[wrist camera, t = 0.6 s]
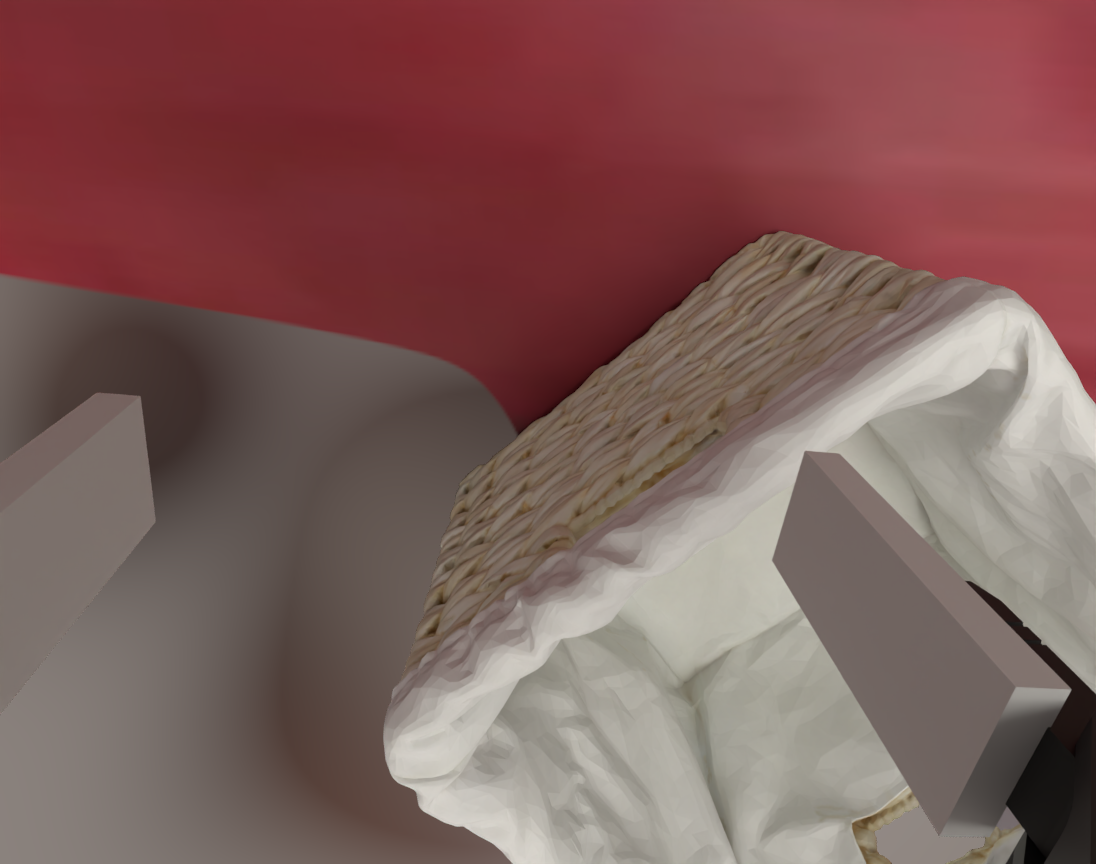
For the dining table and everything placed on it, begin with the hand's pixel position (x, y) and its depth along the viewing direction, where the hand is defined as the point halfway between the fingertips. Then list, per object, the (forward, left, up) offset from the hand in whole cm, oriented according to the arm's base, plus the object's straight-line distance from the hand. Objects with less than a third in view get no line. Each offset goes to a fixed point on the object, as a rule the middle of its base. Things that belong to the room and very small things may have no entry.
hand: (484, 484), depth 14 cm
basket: (+17, +12, -27) cm, 34 cm away
